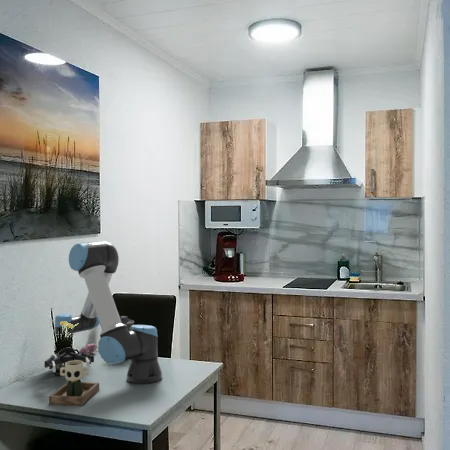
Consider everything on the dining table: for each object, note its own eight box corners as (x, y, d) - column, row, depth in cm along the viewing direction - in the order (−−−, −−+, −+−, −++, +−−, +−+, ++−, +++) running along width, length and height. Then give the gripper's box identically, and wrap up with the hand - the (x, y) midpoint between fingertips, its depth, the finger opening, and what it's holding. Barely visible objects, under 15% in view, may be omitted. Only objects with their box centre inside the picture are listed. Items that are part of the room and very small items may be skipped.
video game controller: (81, 360, 265) (86, 349, 263) (75, 355, 267) (79, 344, 265) (95, 355, 273) (100, 344, 272) (89, 350, 275) (94, 339, 273)
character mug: (58, 399, 205) (58, 365, 205) (62, 392, 213) (61, 360, 212) (87, 397, 207) (86, 364, 206) (90, 391, 214) (89, 359, 213)
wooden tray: (99, 389, 217) (99, 382, 217) (82, 405, 200) (82, 397, 200) (68, 388, 219) (68, 381, 219) (48, 404, 202) (48, 396, 202)
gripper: (94, 358, 242) (102, 371, 222) (36, 365, 232) (39, 379, 213) (94, 342, 242) (102, 354, 222) (36, 348, 232) (39, 361, 212)
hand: (71, 366), depth 217 cm, fingers open, 13 cm apart
